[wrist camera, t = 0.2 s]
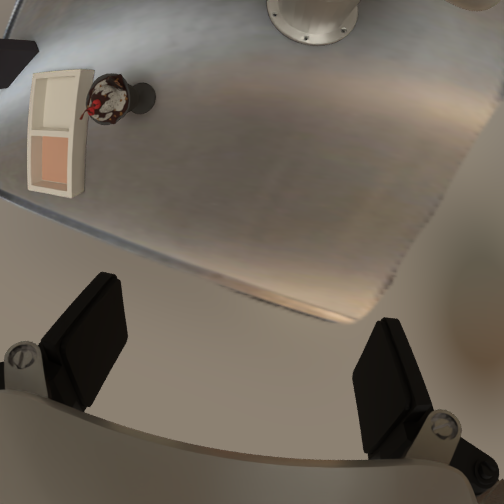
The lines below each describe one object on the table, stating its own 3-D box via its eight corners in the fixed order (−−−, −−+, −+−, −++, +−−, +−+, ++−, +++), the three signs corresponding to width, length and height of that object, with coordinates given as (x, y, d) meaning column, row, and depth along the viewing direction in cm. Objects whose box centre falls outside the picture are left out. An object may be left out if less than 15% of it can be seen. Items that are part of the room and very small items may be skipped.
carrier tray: (47, 73, 38) (33, 73, 35) (94, 70, 38) (80, 69, 35) (41, 183, 48) (28, 189, 44) (84, 191, 48) (71, 198, 44)
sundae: (126, 125, 42) (69, 137, 29) (118, 85, 40) (58, 85, 26) (164, 113, 41) (115, 119, 28) (156, 72, 38) (104, 62, 25)
